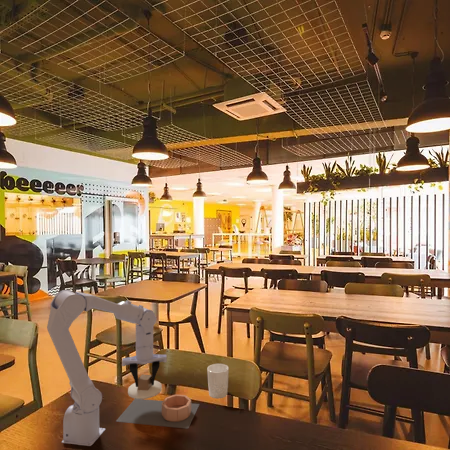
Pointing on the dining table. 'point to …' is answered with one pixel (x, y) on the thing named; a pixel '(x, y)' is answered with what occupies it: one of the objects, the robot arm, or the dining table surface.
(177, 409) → the bowl
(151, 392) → the lid
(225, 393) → the white cup
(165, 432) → the dining table surface
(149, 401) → the mat
